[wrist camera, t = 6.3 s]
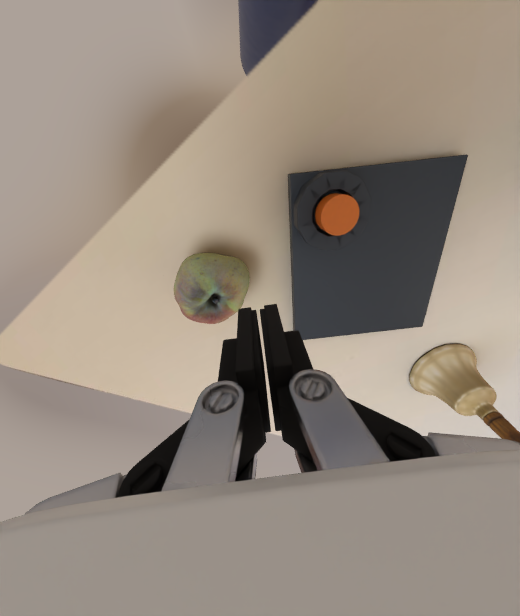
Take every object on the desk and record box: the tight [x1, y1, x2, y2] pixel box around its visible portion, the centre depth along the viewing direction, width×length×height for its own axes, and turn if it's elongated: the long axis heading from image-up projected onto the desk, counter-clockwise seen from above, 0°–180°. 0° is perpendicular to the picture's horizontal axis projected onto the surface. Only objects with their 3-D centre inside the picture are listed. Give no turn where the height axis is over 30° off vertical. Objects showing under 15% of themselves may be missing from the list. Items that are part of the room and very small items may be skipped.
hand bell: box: [410, 344, 520, 443], centre depth 24 cm, size 8×8×16 cm
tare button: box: [315, 193, 359, 236], centre depth 18 cm, size 3×3×2 cm
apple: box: [174, 253, 250, 324], centre depth 21 cm, size 6×8×6 cm
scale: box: [288, 155, 468, 340], centre depth 22 cm, size 16×14×3 cm
